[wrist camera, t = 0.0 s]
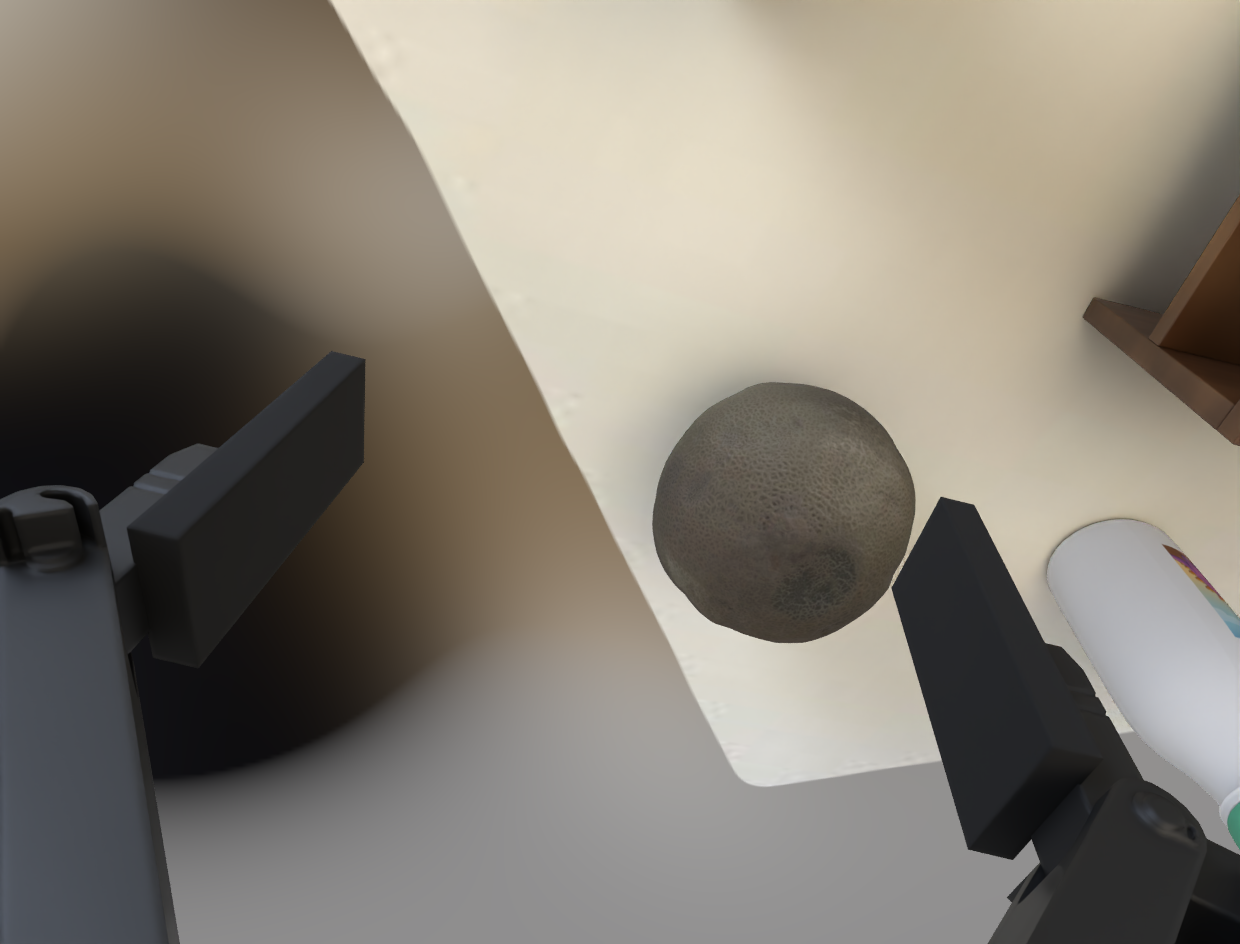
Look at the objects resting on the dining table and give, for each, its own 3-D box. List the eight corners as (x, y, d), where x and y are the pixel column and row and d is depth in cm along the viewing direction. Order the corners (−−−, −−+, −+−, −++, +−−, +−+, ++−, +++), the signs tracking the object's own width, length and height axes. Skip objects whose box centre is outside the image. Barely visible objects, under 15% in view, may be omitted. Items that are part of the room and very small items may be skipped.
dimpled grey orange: (913, 490, 48) (981, 661, 35) (712, 554, 53) (708, 725, 40) (843, 298, 42) (894, 420, 29) (623, 389, 47) (585, 529, 34)
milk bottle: (1034, 607, 52) (1185, 893, 35) (1053, 516, 48) (1234, 790, 31) (1155, 605, 50) (1373, 902, 34) (1186, 512, 47) (1450, 796, 30)
